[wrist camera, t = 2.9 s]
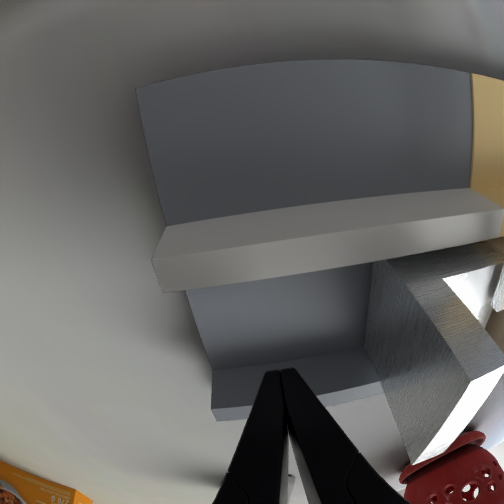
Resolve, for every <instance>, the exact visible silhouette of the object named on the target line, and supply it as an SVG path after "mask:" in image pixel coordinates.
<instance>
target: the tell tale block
mask: <svg viewBox="0 0 504 504" xmlns="http://www.w3.org/2000/svg"><path fill="white" fill-rule="evenodd" d="M484 241H485V242H486V243H488V244H489V245H490V246H491V247H493V248H494V249H495V250H496V251H497V252H499V253H500V254H501V255H502V256H503V257H504V236H503V237H498V238H493V239H489V240H484ZM485 330H486V331H487V332H488V334H489V335H490V336H491V338H492V339H493V340H494V342H495V343H496V344H497V346H498V347H499V348H500V350H501V351H502V353H503V354H504V309H503V310H501V311H498V312H496V311H495V309H494V308H493V309H492V312H491V314H490V317H489V319H488V322H487V324H486V327H485Z"/></svg>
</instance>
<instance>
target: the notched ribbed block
mask: <svg viewBox="0 0 504 504" xmlns="http://www.w3.org/2000/svg"><path fill="white" fill-rule="evenodd" d="M493 308H494V309H495V311H496V312H498V311H501V310H503V309H504V257H503V256H502V255H501V254H500V253H499V252H497V251H496V250H495V249H494V248H493V247H491V246H490V245H489V244H488V243H486V242H485V241H479V242H474V243H469V244H464V245H459V246H454V247H449V248H444V249H439V250H434V251H428V252H423V253H418V254H412V255H407V256H401V257H396V258H390V259H385V260H379V261H373V264H372V277H371V287H370V297H369V306H368V314H367V322H366V330H365V337H364V346H365V349H366V351H367V353H368V355H369V358H370V360H371V362H372V365H373V367H374V369H375V372H376V374H377V376H378V379H379V381H380V384H381V386H382V389H383V391H384V393H385V396H386V398H387V401H388V403H389V406H390V408H391V411H392V414H393V416H394V419H395V421H396V424H397V426H398V429H399V432H400V434H401V437H402V440H403V442H404V445H405V448H406V451H407V453H408V456H409V459H410V462H411V465H414V464H417V463H420V462H422V461H425V460H427V459H429V458H432V457H434V456H437V455H439V454H441V453H443V452H445V450H446V449H447V448H448V447H449V446H450V445H451V444H452V442H453V441H454V440H455V439H456V438H457V437H458V435H459V434H460V433H461V432H462V430H463V429H464V428H465V427H466V425H467V424H468V423H469V422H470V420H471V419H472V418H473V416H474V415H475V414H476V412H477V411H478V410H479V408H480V407H481V406H482V404H483V403H484V401H485V400H486V399H487V397H488V396H489V394H490V393H491V391H492V390H493V388H494V387H495V385H496V384H497V382H498V380H499V379H500V377H501V376H502V374H503V372H504V354H503V353H502V351H501V350H500V348H499V347H498V346H497V344H496V343H495V342H494V340H493V339H492V338H491V336H490V335H489V334H488V332H487V331H486V330H485V327H486V324H487V322H488V319H489V317H490V314H491V312H492V309H493Z"/></svg>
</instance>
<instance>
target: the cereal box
mask: <svg viewBox="0 0 504 504" xmlns="http://www.w3.org/2000/svg"><path fill="white" fill-rule="evenodd" d="M0 504H92V500H91V499H89V498H88V497H86V496H85V495H83V494H82V493H80V492H79V491H77V490H75V489H72V488H69V487H66V486H62V485H59V484H56V483H53V482H51V481H48V480H45V479H42V478H40V477H37V476H34V475H32V474H29V473H27V472H25V471H22V470H20V469H18V468H15V467H13V466H11V465H9V464H6V463H4V462H2V461H0Z"/></svg>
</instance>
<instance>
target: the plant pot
mask: <svg viewBox="0 0 504 504" xmlns="http://www.w3.org/2000/svg"><path fill="white" fill-rule="evenodd" d="M485 439H486V436H485V435H484V433H482V432H479V431H470V432H465V431H464V432H462V433H460V434H459V435H458V437H457V438H456V439H455V440H454V441H453V442H452V444H451V445H450V446H449V447H448V448H447V449H446V450H445V452H443V453H441V454H439V455H437V456H434V457H432V458H429V459H427V460H425V461H422V462H420V463H417V464H414V465H411V463H409V464H408V465H407V466H406V467H405V468H404V470H403V471H402V473H401V475H400V478H399V482H400V483H401V484H407V486H406V490H405V494H404V498H405V499H406V500H407V501H408V502H409V503H411V504H432V503H433V504H504V471H503V470H502V468H501V467H500V465H499V463H498V461H497V460H496V458H495V457H494V456H493V455H492V454H491V453H489V452H488V451H487V450H486V449H484V448H482V447H480V446H481V445H482V443H483V442H484V441H485ZM485 474H488V475H489V477H485ZM468 484H469V485H470V487H471V488H470V490H469V491H468V492H463V491H462V489H463V488H464V487H465V486H466V485H468ZM491 485H493V486H494V491H493V490H492V489H491ZM477 487H478V489H479V492H478V495H477V497H476V498H474V491H475V489H476V488H477ZM451 491H453V492H452V493H450V492H451ZM449 493H450V494H449ZM463 498H464V499H466V501H465V500H463ZM430 501H431V502H432V503H431V502H430Z"/></svg>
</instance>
